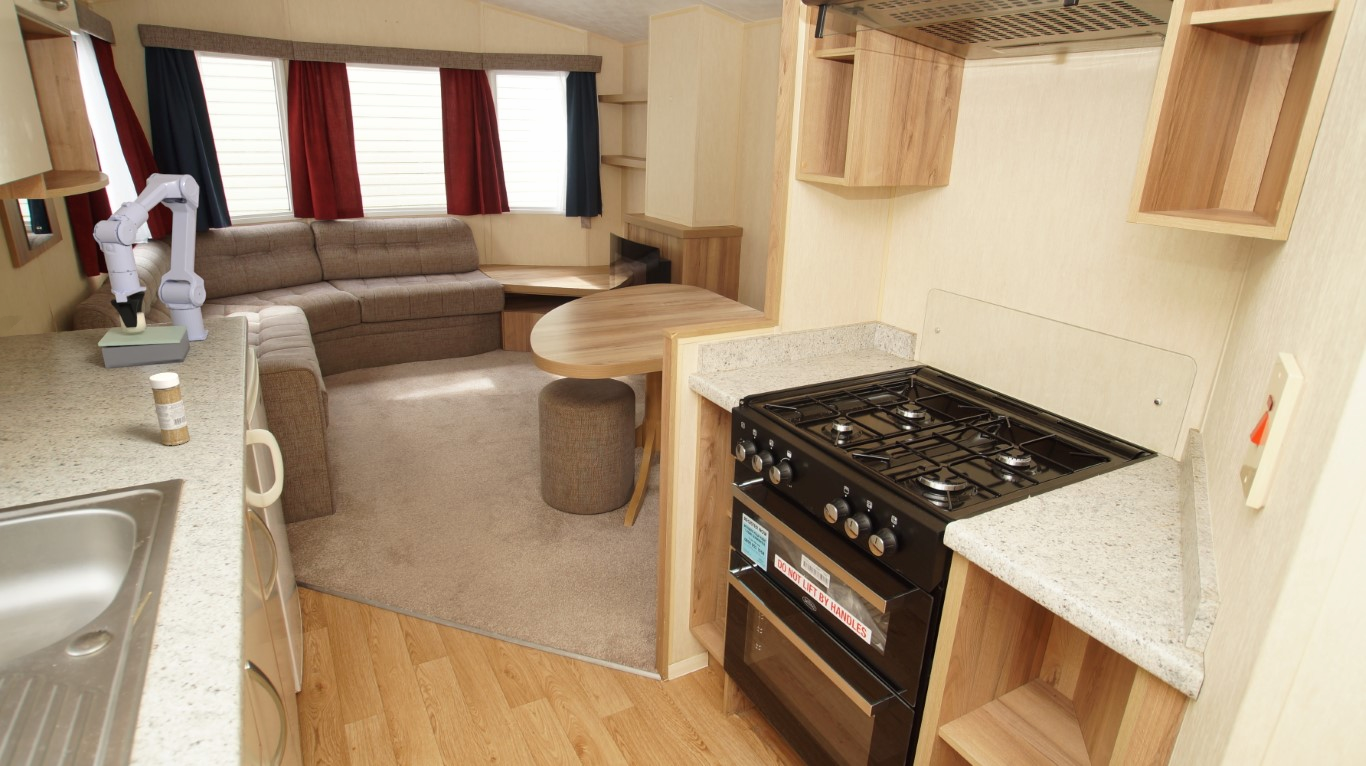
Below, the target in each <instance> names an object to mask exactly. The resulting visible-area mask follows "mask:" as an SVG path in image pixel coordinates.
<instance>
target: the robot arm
mask: <svg viewBox="0 0 1366 766" xmlns="http://www.w3.org/2000/svg"><path fill="white" fill-rule="evenodd" d="M199 195H200V186H199V184H198V182H196V179H195V178H194V177H193V176H192V175H191V174H170V173H169V174H168V173H167V174H163V173H158V172H157V173H156V172H155V173H152V174H151V175H149V177H148V178H147V179H146V186H145V188H144V189H143V190H142V192H141V193H140V194H139V195H138V196H137V198H136V199H135V200H134V201H127V202H125V201H124V202H122V203H121V204H120V207H119V208H118V209H117V210H116V211H115V212H114V213H112V214H111V215H110V217H109V218H108V219H107V220H100V221H98V222H97V223H96V224H95V225H94V229H93V233H92V235H93V238H94V240H95V241H96V242H97V243H98V245H99V248H100V249H99V250H101V252H103V255H104V259H105V260H104V261H105V264H106V268H107V271H108V278H109V282H110V287H111V289H110V291H111V294H113V295H114V296H115V299H111V300H110V304H111V306H113V308H114V309H115V310H116V311H117V313H118V315H120V316H121V318H122V320H123V322H124V324H125V326H126V328H131V327H137V312H142V313H143V301H144V298H145V295H146V292H145V291H147V286H141V284H140V283H141V282H140V279H139V274H138V269H137V264H136V259H135V255H134V250H133V245H132V244H134V243H135V241H136V238H137V234H138V231H139V229H141V228H142V226H143V225H144V224H145V223H146V222H147V221H148V219H149V213H148V212H150V211H151V210H152V209H154V207H155V206H157V205H158V204H159V203H161V204H162V205H164V207H167V208H168V209H170V211H171V212H172V229H171V230H172V232H171V250H170V251H171V252H170V253H171V254H170V269H169V271H167V272H165V274H163V275H161V280H160V281H161V282H160V285H159V287H158V290H157V296H158V298H159V301H160V302H161V303H162V304H164V305H165V308H168V309H169V314H170V316H169V317H170V319H171V326H187V332H188V337H189V342H190V341H191V342H193V341H194V342H195V341H205V340H207V336H208V334H209V333H210V331H209V330H208V329H205V325H204V319H203V315H202V308H201V306H203V305H204V302H205V300H206V297H207V292H206V289H205V280H204V279H203V278H202V277H201V276H200V275H198V274H197V273H196V272H195V257H196V256H195V253H196V235H197V232H196V231H197V211H198V210H197V209H198V208H199V203H200V202H199V198H200V197H199Z"/></svg>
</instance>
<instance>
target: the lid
mask: <svg viewBox="0 0 1366 766" xmlns="http://www.w3.org/2000/svg"><path fill="white" fill-rule="evenodd" d="M186 330H187V326H172V325H170V326H169V325H167V326H166V325H165V326H147V329H146V330H144V331H140V332H133V333H126V332H123V330H122V327H110V329H108V331H107V332H106V333H105V334H104V335H103V337H102V338H101V339H99V342H97V345H98V347H103V346H116V345H140V344H165V343H180V341H181V340H182V338H183V336H184V334H185V332H186Z"/></svg>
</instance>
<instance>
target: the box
mask: <svg viewBox="0 0 1366 766" xmlns="http://www.w3.org/2000/svg"><path fill="white" fill-rule="evenodd" d="M101 347H102V348H101V354H102V357H103V362H104V366H105V369H115V368H126V367H139V366H140V367H141V366H150V365H151V366H152V365H153V366H154V365H163V364H172V363H173V364H174V363H184V362H185V360H186V358H187V355H188V353H189V351H190V349H191V344H190V341H189V337H188V332H187V330H186V332H185V334H184V336H183V338H182V340H181V341H180V343H165V344H140V345H116V346H101Z"/></svg>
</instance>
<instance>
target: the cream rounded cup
mask: <svg viewBox="0 0 1366 766" xmlns="http://www.w3.org/2000/svg"><path fill="white" fill-rule="evenodd" d="M118 315H119V316H118V317H119V321H120V325H121V328H122V330H123V332H126V333H133V332H140V331H144V330H146V329H147V327H148V325H147V323H146V318H145V312H143V311H142V312H137V327H131V328H126V326H125V324H124V322H123V320H122V318H121V316H120V314H118Z"/></svg>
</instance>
